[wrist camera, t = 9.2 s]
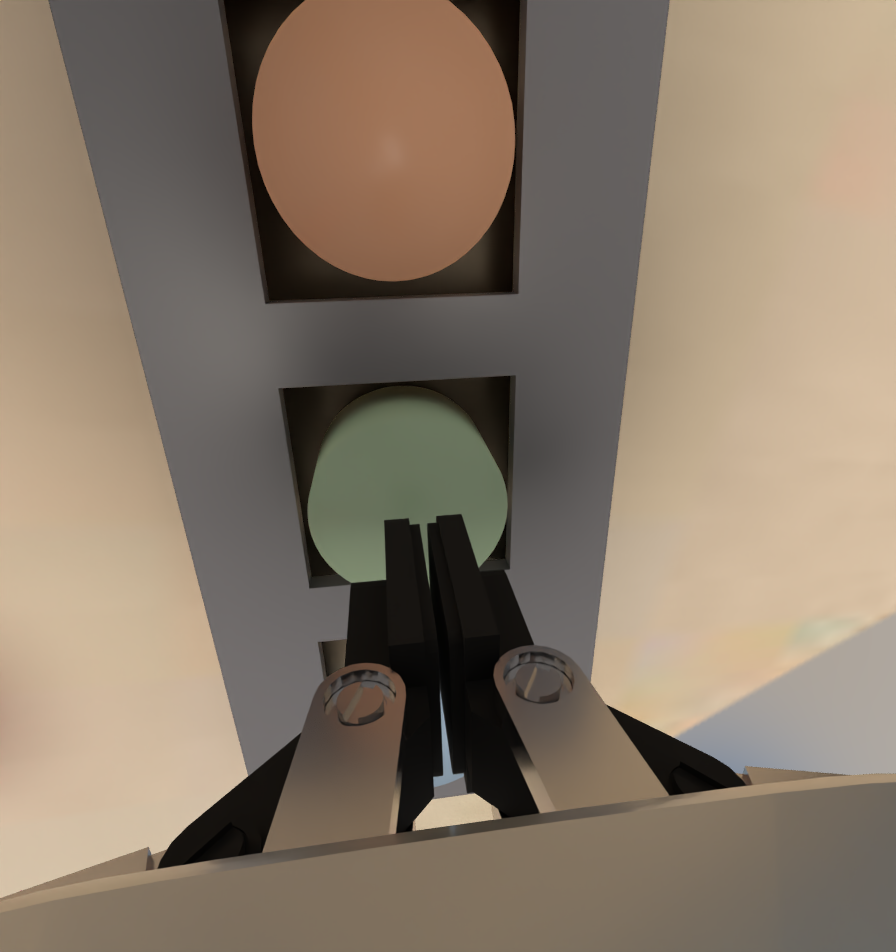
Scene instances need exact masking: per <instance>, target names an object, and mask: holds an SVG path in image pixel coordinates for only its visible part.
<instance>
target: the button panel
mask: <svg viewBox="0 0 896 952" xmlns="http://www.w3.org/2000/svg"><path fill="white" fill-rule="evenodd" d="M48 1H49V4H50V8H51V12H52V16H53V20H54V24H55V28H56V32H57V36H58V39H59V43H60V47H61V51H62V55H63V59H64V63H65V67H66V70H67V74H68V78H69V82H70V86H71V90H72V94H73V98H74V101H75V105H76V109H77V113H78V117H79V121H80V125H81V129H82V133H83V136H84V140H85V144H86V148H87V152H88V156H89V160H90V164H91V167H92V171H93V175H94V179H95V183H96V187H97V191H98V195H99V198H100V202H101V206H102V210H103V214H104V218H105V222H106V226H107V229H108V233H109V237H110V241H111V245H112V249H113V253H114V257H115V261H116V264H117V268H118V272H119V276H120V280H121V284H122V288H123V292H124V295H125V299H126V303H127V307H128V311H129V315H130V319H131V323H132V326H133V330H134V334H135V338H136V342H137V346H138V350H139V354H140V358H141V361H142V365H143V369H144V373H145V377H146V381H147V385H148V389H149V392H150V396H151V400H152V404H153V408H154V412H155V416H156V420H157V423H158V427H159V431H160V435H161V439H162V443H163V447H164V451H165V454H166V458H167V462H168V466H169V470H170V474H171V478H172V482H173V486H174V489H175V493H176V497H177V501H178V505H179V509H180V513H181V517H182V520H183V524H184V528H185V532H186V536H187V540H188V544H189V548H190V551H191V555H192V559H193V563H194V567H195V571H196V575H197V579H198V583H199V586H200V590H201V594H202V598H203V602H204V606H205V610H206V614H207V617H208V621H209V625H210V629H211V633H212V637H213V641H214V645H215V648H216V652H217V656H218V660H219V664H220V668H221V672H222V676H223V680H224V683H225V687H226V691H227V695H228V699H229V703H230V707H231V711H232V714H233V718H234V722H235V726H236V730H237V734H238V738H239V742H240V745H241V749H242V753H243V757H244V761H245V765H246V769H247V773H248V776H249V775H250V774H252V773H253V772H254V771H255V770H256V769H258V768H259V767H260V766H261V765H262V764H264V763H265V762H266V761H267V760H269V759H270V758H271V757H272V756H273V755H275V754H276V753H277V752H278V751H279V750H281V749H282V748H283V747H284V746H285V745H287V744H288V743H289V742H290V741H291V740H293V739H294V738H295V737H296V736H298V735H299V734H300V733H301V732H302V729H303V726H304V723H305V720H306V717H307V714H308V711H309V708H310V705H311V702H312V699H313V696H314V694H315V692H316V690H317V688H318V686H319V685H320V684H321V683H322V682H323V681H324V680H325V679H326V678H327V676H326V669H325V663H324V656H323V650H322V643H321V642H324V641H333V640H343V639H347V629H348V615H349V600H350V587H351V582H349V581H347V580H346V579H344V578H343V577H342V576H340V575H339V574H337V575H326V576H315V577H311V571H310V564H309V558H308V551H307V545H306V538H305V532H304V525H303V518H302V512H301V505H300V499H299V492H298V486H297V479H296V472H295V466H294V459H293V453H292V446H291V440H290V433H289V427H288V420H287V413H286V407H285V400H284V394H283V388H294V387H313V386H331V385H349V384H367V383H385V382H404V381H422V380H440V379H458V378H476V377H495V376H510V411H509V449H508V488H507V503H508V508H507V526H506V559H499V560H488V561H484V563H483V564H482V565H481V566H480V567H479V571H487V570H498V569H503V570H505V572H506V574H507V577H508V579H509V582H510V584H511V587H512V589H513V592H514V594H515V597H516V599H517V602H518V605H519V607H520V610H521V612H522V615H523V617H524V620H525V622H526V625H527V627H528V630H529V632H530V635H531V637H532V640H533V642H534V645H537V646H546V647H550V648H553V649H556V650H559V651H561V652H562V653H564V654H566V655H567V656H569V657H571V658H572V659H573V660H574V662H575V663H576V664H577V665H578V666H579V667H580V668H581V670H582V671H583V673H584V674H585V675H586V677H587V678H588V680H589V681H590V682H591V674H592V665H593V656H594V648H595V639H596V631H597V622H598V613H599V605H600V596H601V587H602V579H603V570H604V561H605V553H606V544H607V536H608V527H609V518H610V510H611V501H612V492H613V484H614V475H615V466H616V458H617V449H618V441H619V432H620V423H621V415H622V406H623V397H624V389H625V380H626V371H627V363H628V354H629V346H630V337H631V328H632V320H633V311H634V302H635V294H636V285H637V276H638V268H639V259H640V251H641V242H642V233H643V225H644V216H645V207H646V199H647V190H648V181H649V173H650V164H651V156H652V147H653V138H654V130H655V121H656V112H657V104H658V95H659V86H660V78H661V69H662V61H663V52H664V43H665V35H666V26H667V17H668V9H669V0H520V26H519V64H518V103H517V141H516V180H515V218H514V257H513V292H492V293H466V294H439V295H413V296H386V297H360V298H333V299H307V300H280V301H269V295H268V289H267V282H266V276H265V269H264V263H263V256H262V249H261V243H260V236H259V230H258V223H257V217H256V210H255V204H254V197H253V190H252V184H251V177H250V171H249V164H248V158H247V151H246V144H245V138H244V131H243V125H242V118H241V112H240V105H239V99H238V92H237V85H236V79H235V72H234V66H233V59H232V53H231V46H230V40H229V33H228V26H227V20H226V13H225V7H224V0H48ZM466 794H467V791H466V785H465V779H464V776H463V777H461V778H459V779H457V780H455V781H453V782H450V783H447V784H444V785H441V786H437V787H434V797H433V799H438V798H445V797H452V796H459V795H466ZM468 794H474V793H468Z"/></svg>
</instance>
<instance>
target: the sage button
mask: <svg viewBox="0 0 896 952" xmlns="http://www.w3.org/2000/svg"><path fill="white" fill-rule="evenodd" d="M507 508H508V503H507V492H506V487H505V482H504V480H503V477H502V474H501V472H500V470H499V468H498V466H497V464H496V462H495V460H494V459H493V457H492V455H491V453H490V451H489V449H488V448H487V446H486V444H485V442H484V440H483V438H482V436H481V435H480V433H479V431H478V429H477V427H476V425H475V424H474V422H473V421H472V419H471V418H470V417H469V415H468V414H467V413H466V412H465V411H464V410H463V409H462V408H461V407H460V406H459V405H458V404H456V403H455V402H454V401H452V400H451V399H449V398H447V397H446V396H444V395H442V394H440V393H437V392H435V391H433V390H429V389H425V388H422V387H415V386H392V387H385V388H381V389H377V390H374V391H372V392H369V393H367V394H364V395H362V396H361V397H359V398H357V399H355V400H354V401H352V402H351V403H350V404H348V405H347V406H346V407H345V408H344V409H343V410H342V411H341V412H339V413H338V414H337V416H336V417H335V418H334V420H333V421H332V422H331V424H330V425H329V427H328V429H327V431H326V432H325V435H324V437H323V440H322V442H321V446H320V451H319V455H318V459H317V464H316V468H315V472H314V477H313V481H312V485H311V490H310V494H309V499H308V510H307V511H308V523H309V528H310V532H311V536H312V538H313V541H314V543H315V546H316V547H317V549H318V551H319V553H320V554H321V556H322V557H323V558H324V560H325V561H326V562H327V564H328V565H329V566H330V567H331V568H332V569H333V570H334V571H335V572H336V573H338V574H339V575H340V576H342V577H343V578H344V579H346V580H347V581H349V582H351V583H355V582H366V581H377V580H386V562H385V532H384V520H392V519H404V518H409V521H410V525H411V524H420V530H421V537H422V543H423V549H424V556H425V562H426V568H427V575H428V581H429V560H428V538H427V523H436V516H442V515H454V514H461V515H462V517H463V520H464V523H465V526H466V530H467V533H468V536H469V539H470V542H471V545H472V549H473V552H474V555H475V558H476V561H477V564H478V567H480V566H481V565H482V564H483V563H484V561H485V560H486V559H487V558H488V557H489V556H490V554H491V553H492V551H493V550H494V549H495V547H496V545H497V543H498V541H499V540H500V537H501V535H502V532H503V530H504V526H505V522H506V518H507ZM429 587H430V582H429Z"/></svg>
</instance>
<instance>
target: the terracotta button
mask: <svg viewBox="0 0 896 952" xmlns="http://www.w3.org/2000/svg"><path fill="white" fill-rule="evenodd" d="M252 128H253V139H254V147H255V152H256V157H257V162H258V166H259V169H260V172H261V175H262V178H263V181H264V184H265V186H266V189H267V191H268V193H269V195H270V197H271V200H272V202H273V203H274V205H275V207H276V208H277V210H278V212H279V213H280V215H281V217H282V218H283V220H284V221H285V222H286V224H287V225H288V226H289V228H290V229H291V230H292V232H293V233H294V234H295V235H296V236H297V237H298V238H299V239H300V240H301V241H302V242H303V243H304V244H305V245H306V246H307V247H308V248H309V249H310V250H312V251H313V252H314V253H315V254H317V255H318V256H319V257H320V258H322V259H324V260H325V261H327V262H328V263H330V264H331V265H333V266H335V267H337V268H339V269H341V270H343V271H346V272H348V273H350V274H353V275H356V276H360V277H363V278H367V279H373V280H378V281H405V280H413V279H417V278H421V277H425V276H428V275H430V274H433V273H435V272H438V271H440V270H442V269H444V268H446V267H447V266H449V265H451V264H453V263H454V262H456V261H457V260H458V259H460V258H461V257H462V256H464V255H465V254H466V253H467V252H468V251H469V250H470V249H471V248H472V247H473V246H474V245H475V244H476V243H477V242H478V241H479V240H480V239H481V238H482V236H483V235H484V234H485V232H486V231H487V230H488V229H489V227H490V225H491V224H492V222H493V220H494V219H495V217H496V215H497V214H498V211H499V209H500V207H501V205H502V202H503V200H504V198H505V195H506V192H507V189H508V185H509V182H510V178H511V173H512V168H513V163H514V152H515V122H514V115H513V108H512V102H511V98H510V94H509V90H508V87H507V83H506V80H505V78H504V75H503V73H502V70H501V67H500V65H499V63H498V61H497V59H496V57H495V55H494V53H493V51H492V49H491V47H490V46H489V44H488V43H487V41H486V40H485V38H484V37H483V36H482V34H481V33H480V31H479V30H478V29H477V27H476V26H475V25H474V24H473V23H472V22H471V21H470V20H469V18H468V17H467V16H466V15H465V14H464V13H463V12H461V11H460V10H459V9H458V8H457V7H456V6H455V5H453V4H452V3H451V2H450V1H448V0H305V1H304V2H303V3H301V4H300V5H299V6H298V7H297V8H296V9H295V10H294V11H292V13H291V14H290V15H289V16H288V18H287V19H286V20H285V21H284V22H283V24H282V25H281V26H280V27H279V29H278V31H277V32H276V34H275V36H274V37H273V39H272V41H271V42H270V44H269V46H268V49H267V51H266V53H265V56H264V58H263V60H262V63H261V66H260V70H259V73H258V77H257V80H256V85H255V91H254V98H253V112H252Z"/></svg>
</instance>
